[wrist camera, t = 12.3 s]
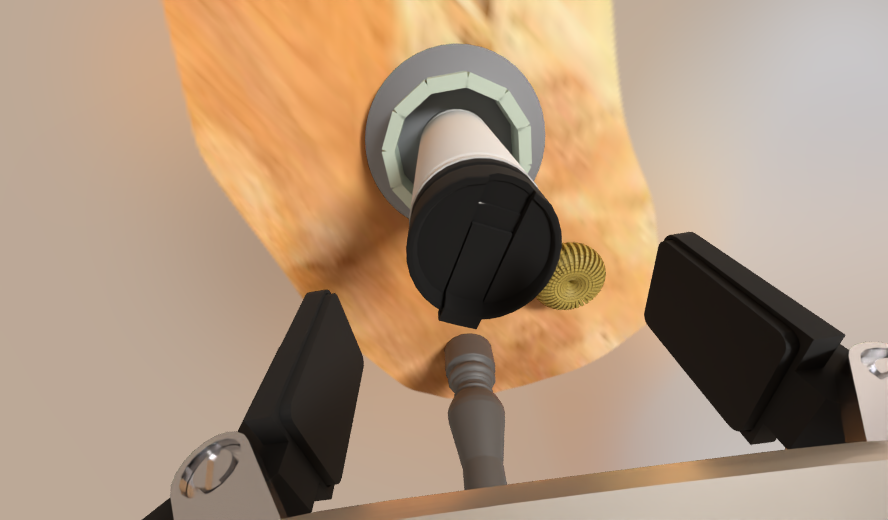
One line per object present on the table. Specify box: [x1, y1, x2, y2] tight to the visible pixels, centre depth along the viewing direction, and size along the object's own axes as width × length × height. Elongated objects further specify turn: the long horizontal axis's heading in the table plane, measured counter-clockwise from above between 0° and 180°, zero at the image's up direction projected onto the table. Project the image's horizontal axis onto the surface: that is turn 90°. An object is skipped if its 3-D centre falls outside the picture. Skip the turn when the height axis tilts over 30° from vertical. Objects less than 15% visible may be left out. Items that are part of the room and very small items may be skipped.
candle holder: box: [445, 334, 507, 490], centre depth 33 cm, size 6×6×25 cm
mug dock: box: [365, 44, 545, 218], centre depth 29 cm, size 16×16×4 cm
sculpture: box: [536, 242, 606, 310], centre depth 36 cm, size 8×4×8 cm
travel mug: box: [406, 108, 562, 329], centre depth 21 cm, size 6×7×20 cm
